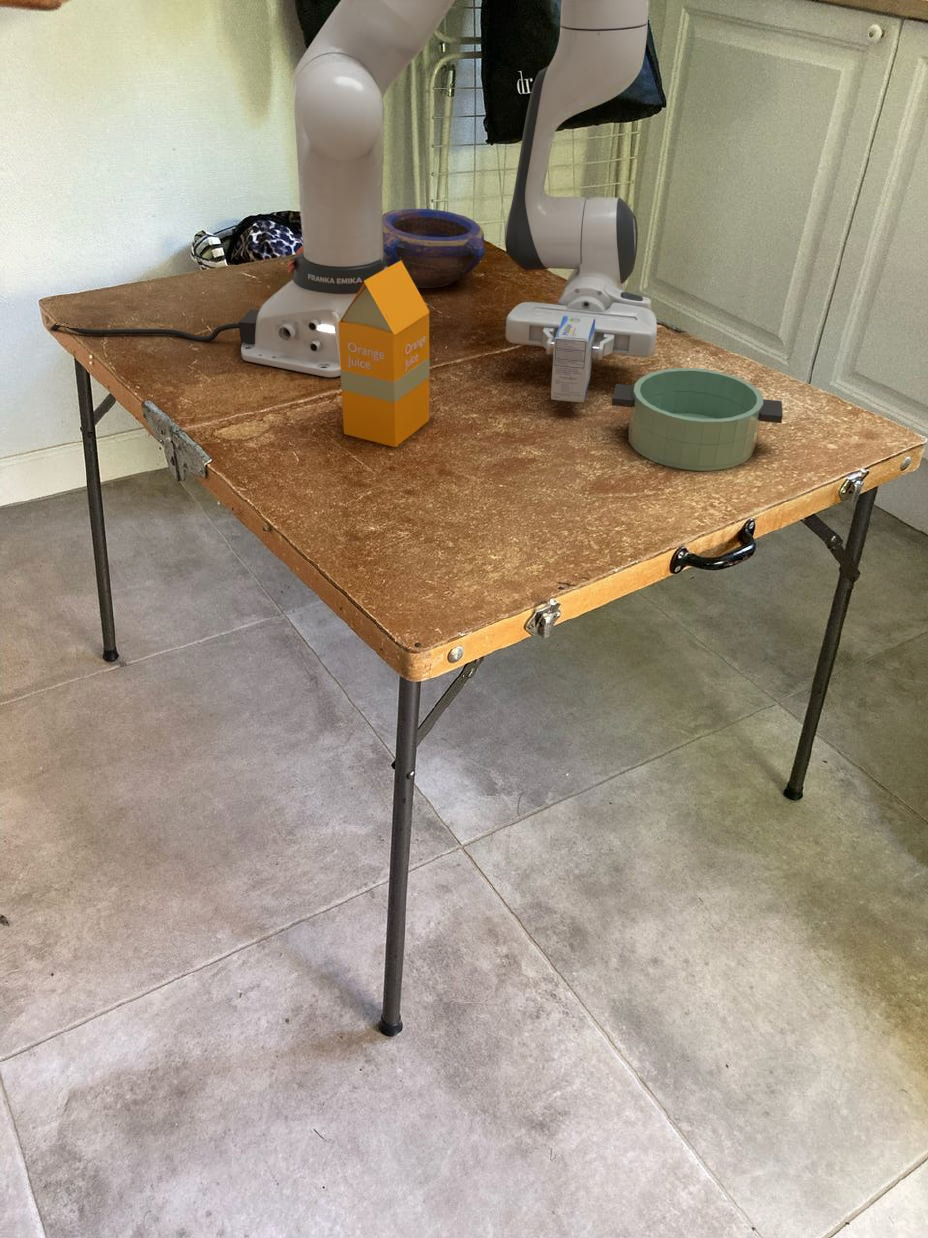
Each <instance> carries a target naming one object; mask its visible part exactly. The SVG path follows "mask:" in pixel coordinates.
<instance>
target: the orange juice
mask: <svg viewBox="0 0 928 1238" xmlns="http://www.w3.org/2000/svg"><path fill="white" fill-rule="evenodd" d="M430 313H431V312H430V309H429V308H428V306H427V304H426V302H425V300H424V298H423V296H422V295H421V294H420V292H419V290H418V287H416V286H415V284H414V282H413V281H412V279H411V277H410V275H409V273H408V272H407V270H406V268H405V266H404V264H403V263H402V261H399V262H397V263H395V264H394V265H392V266H390V267H388V268H386V269H384V270H383V271H381V272H379V273H377V274H375V275H374V276H372V277H370V278H368V279H366V280H365V281H364V284H363V285H362V287H361V289H360V290H359V292H358V293H357V295H356V296H355V298H354V300H353V301H352V303H351V304H350V306H349V307H348V309H347V311H346V312H345V314H344V315H343V317H342V318H341V320H340V321H339V322H338V328H339V347H340V366H341V370H340V390H341V401H342V419H343V434H344V435H347V436H350V437H354V438H358V439H361V440H366V441H370V442H374V443H376V444H381V445H385V446H389V447H392V448H397V447H398V446H399V445H401V444H402V443H403V442H404V441H405V440H407V439H408V438H409V437H410V436H412V435H413V434H414V433H416V432H417V431H418V430H420V428H422V427H423V426H424V425H426V424H427V423H428V422H429V421H430V377H431V376H430V372H431V371H430V367H431V365H430V364H431V363H430Z"/></svg>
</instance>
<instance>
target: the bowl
mask: <svg viewBox="0 0 928 1238" xmlns="http://www.w3.org/2000/svg"><path fill="white" fill-rule="evenodd" d="M484 242H485V233H484V230H483V228H482V227H481V226H480V225H479V223H478V222H476V221H475V220H473V219H471V218H469V217H468V216H466V215H462V214H458V213H454V212H451V211H446V210H441V209H431V208H403V209H391V210H388V211H387V212H384V213H383V249H384V252H385V253H386V255H387V266H388V267H390V266H392V265H394V264H395V263H397V262H399V261H402V263H403V264H404V266H405V268H406V270H407V272H408V273H409V275H410V277H411V279H412V281H413V282H414V284H415V286H416V288H417V289H418V288H419V289H434V288H441V287H445V286H448V285H451V284H452V283H454V281H456V280H457V279H459V278H461V277H463V276H465V275H467V274H469V273H470V272H472V271H473V270H474V269H475V268H476V267H477V266H478V264H480V263H481V261H482V260H483V258H484V256H485V253H486V248H485V245H484Z"/></svg>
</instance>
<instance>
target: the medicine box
mask: <svg viewBox="0 0 928 1238" xmlns="http://www.w3.org/2000/svg"><path fill="white" fill-rule="evenodd" d="M594 331H595V319H594V318H589V317H581V316H563V318H562V321H561V324H560V327H559V329H558V332H557V335H556V337H555V341H554V352H553V355H552V368H551V369H552V371H551V386H550V387H551V389H550V400H552V401H560V402H568V403H570V402H571V403H580V404H583V403H584V402H585V400H586V395H587V392H588V388H589V384H590V380H591V372H592V363H593V359H591V348H592V344H593V341H594Z"/></svg>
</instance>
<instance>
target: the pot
mask: <svg viewBox="0 0 928 1238" xmlns="http://www.w3.org/2000/svg"><path fill="white" fill-rule="evenodd" d="M633 386H634V390H633V398H634V402H633V408H631V407H630V415H629V416H630V417H629V424H628V426H629V427H628V433H627V434H628V442H629V444H630V446H631V447H632V448H633V450H634V451H636V452H637V454H639V455H640V456H642V457H644V458H646V459H647V460H649V461H651V462H654V463H657V464H659V465H662V466H666V467H669V468H674V469H678V470H685V471H694V472H695V471H696V472H711V471H712V472H713V471H723V470H726V469H731V468H734V467H737V466H740V465H742V464H743V463H745V462H747V461H748V460H749V459H750V458H751V457H752V455H753V454H754V450H755V447H756V442H757V438H758V432H759V427H760V422H761V421H759V417H760V413H761V411H762V408H763V399H764V396H763V394H762V392H760V390H759V389H758V388H757V387H756V386H754V384H752V383H751V382H749V381H747V380H745V379H742V378H740V377H739V376H735V375H733V374H729V373H726V372H721V371H717V370H712V369H707V368H697V367H677V368H676V367H673V368H665V369H659V370H656V371H652V372H649V373H646V375H643V376H641V377H640V378H639V379H638V380H637V381H636V382H635V383H634V385H633Z"/></svg>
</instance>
